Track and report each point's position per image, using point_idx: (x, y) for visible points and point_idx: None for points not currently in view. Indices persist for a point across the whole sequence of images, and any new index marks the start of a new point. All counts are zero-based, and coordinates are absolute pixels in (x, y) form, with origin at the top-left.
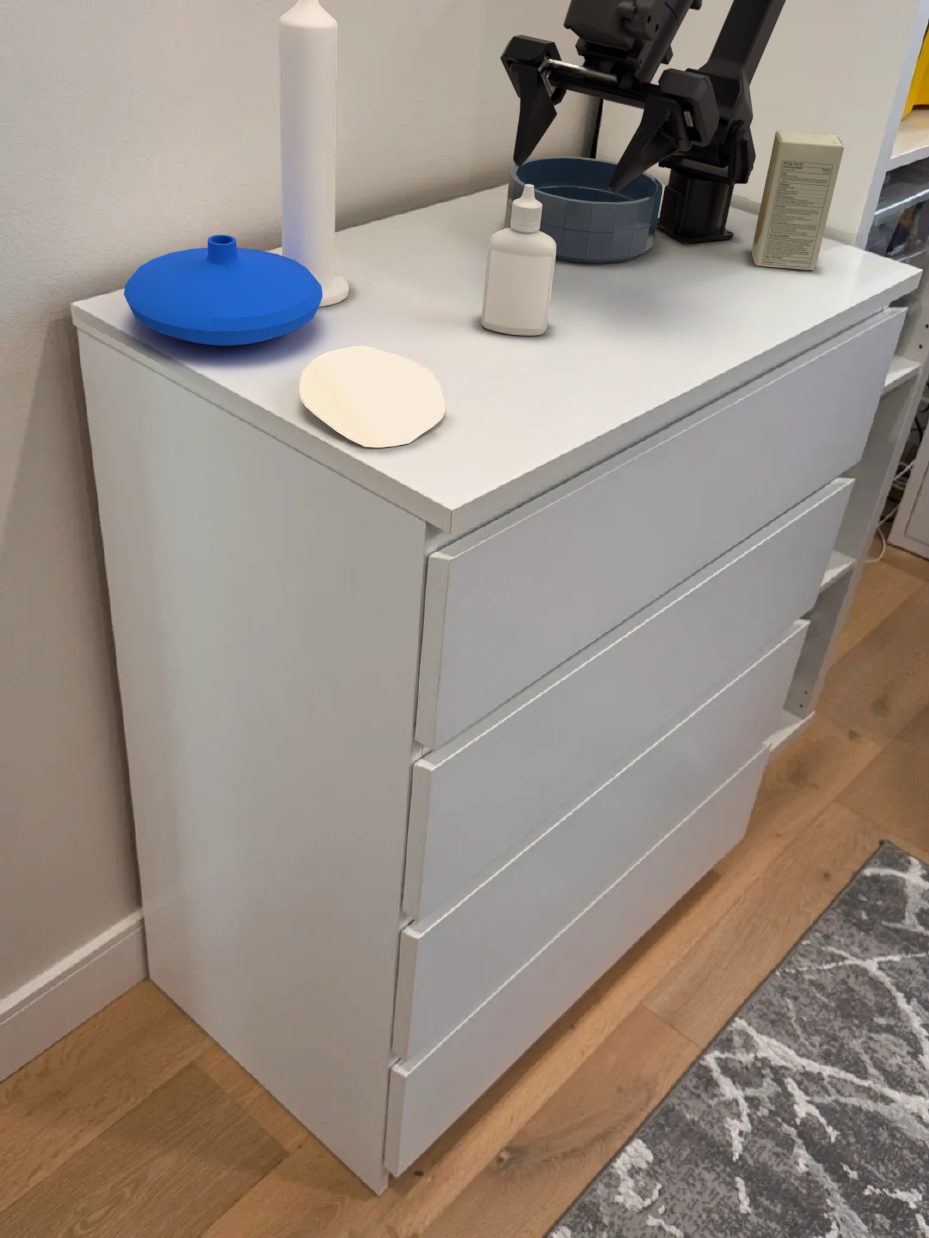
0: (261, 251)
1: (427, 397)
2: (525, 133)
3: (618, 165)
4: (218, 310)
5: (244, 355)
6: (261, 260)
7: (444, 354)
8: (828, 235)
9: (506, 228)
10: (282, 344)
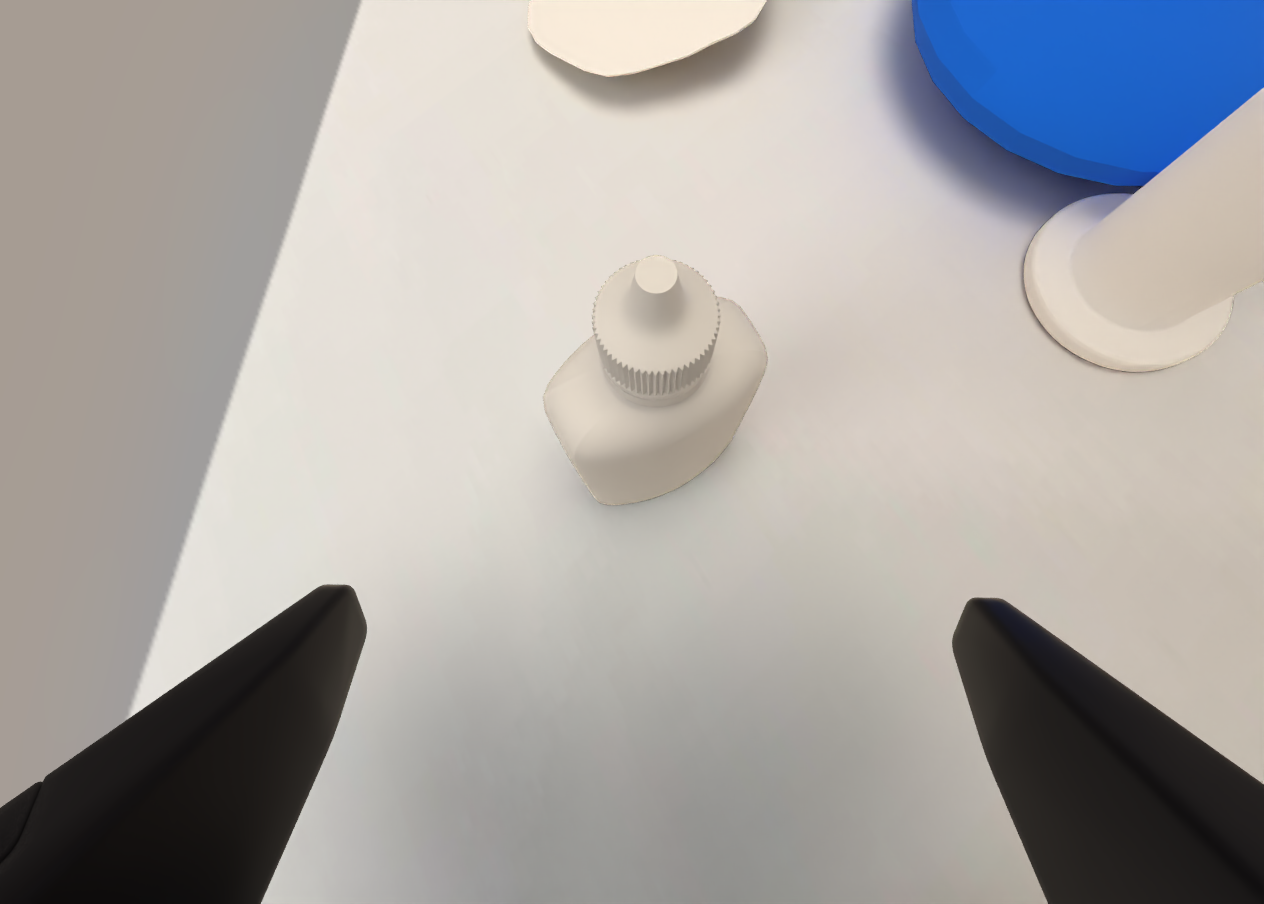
0: None
1: (574, 34)
2: (1099, 723)
3: (261, 665)
4: None
5: None
6: (1165, 15)
7: (688, 241)
8: None
9: (728, 357)
10: None
